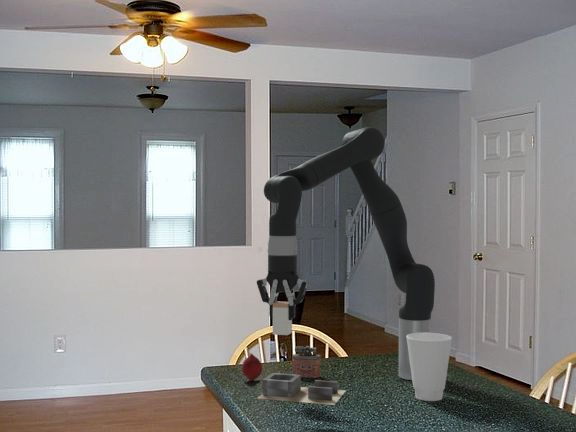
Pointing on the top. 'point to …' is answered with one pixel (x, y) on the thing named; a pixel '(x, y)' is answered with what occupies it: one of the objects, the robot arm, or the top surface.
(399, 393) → the top surface
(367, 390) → the top surface
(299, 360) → the lighter
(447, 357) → the cup
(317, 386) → the panel
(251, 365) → the onion
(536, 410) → the top surface
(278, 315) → the plug
